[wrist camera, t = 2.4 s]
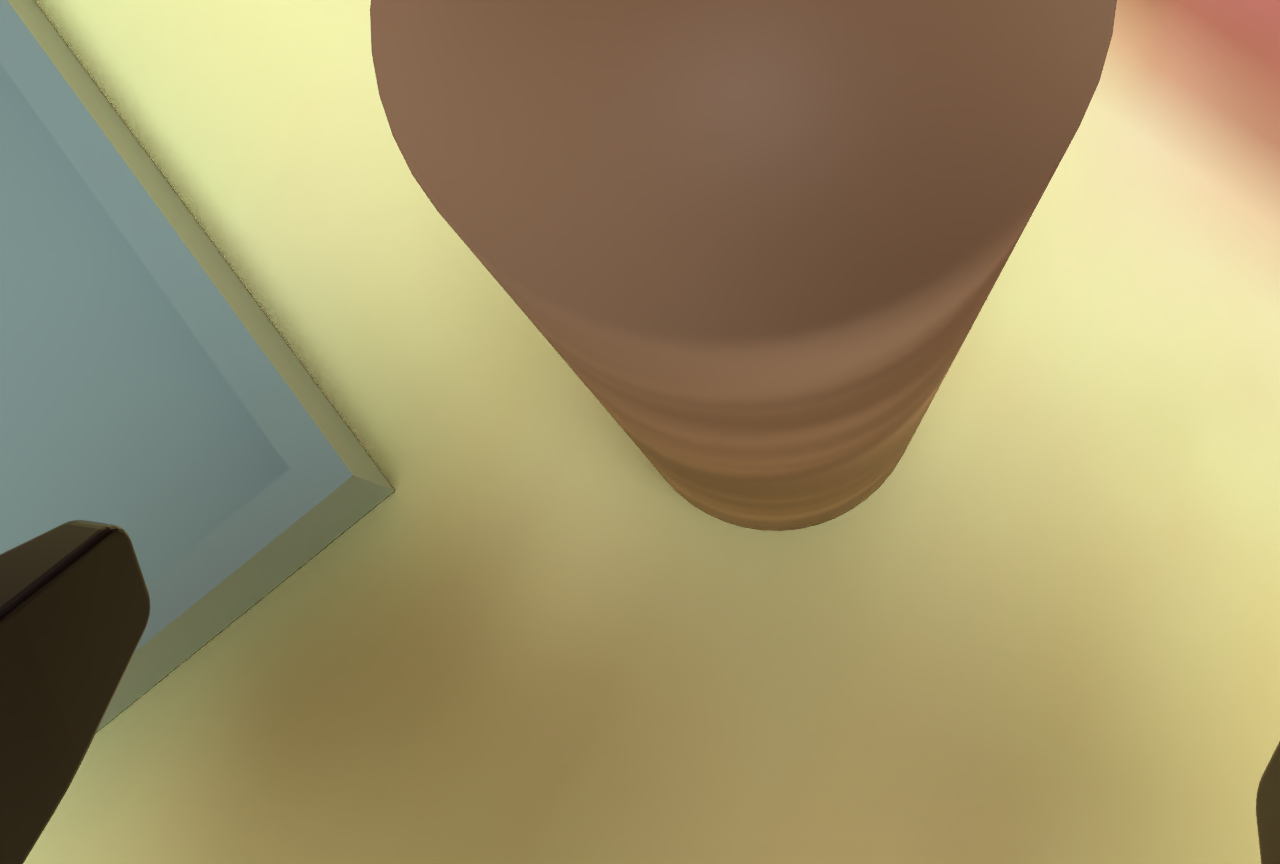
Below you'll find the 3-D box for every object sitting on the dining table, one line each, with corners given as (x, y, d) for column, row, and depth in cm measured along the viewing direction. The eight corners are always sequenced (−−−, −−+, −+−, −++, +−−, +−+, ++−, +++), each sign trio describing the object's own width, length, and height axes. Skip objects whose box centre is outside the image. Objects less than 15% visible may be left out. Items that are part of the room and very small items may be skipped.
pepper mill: (754, 589, 20) (669, 498, 7) (580, 374, 21) (238, -37, 8) (979, 407, 20) (1292, -9, 7) (792, 202, 21) (777, -473, 8)
